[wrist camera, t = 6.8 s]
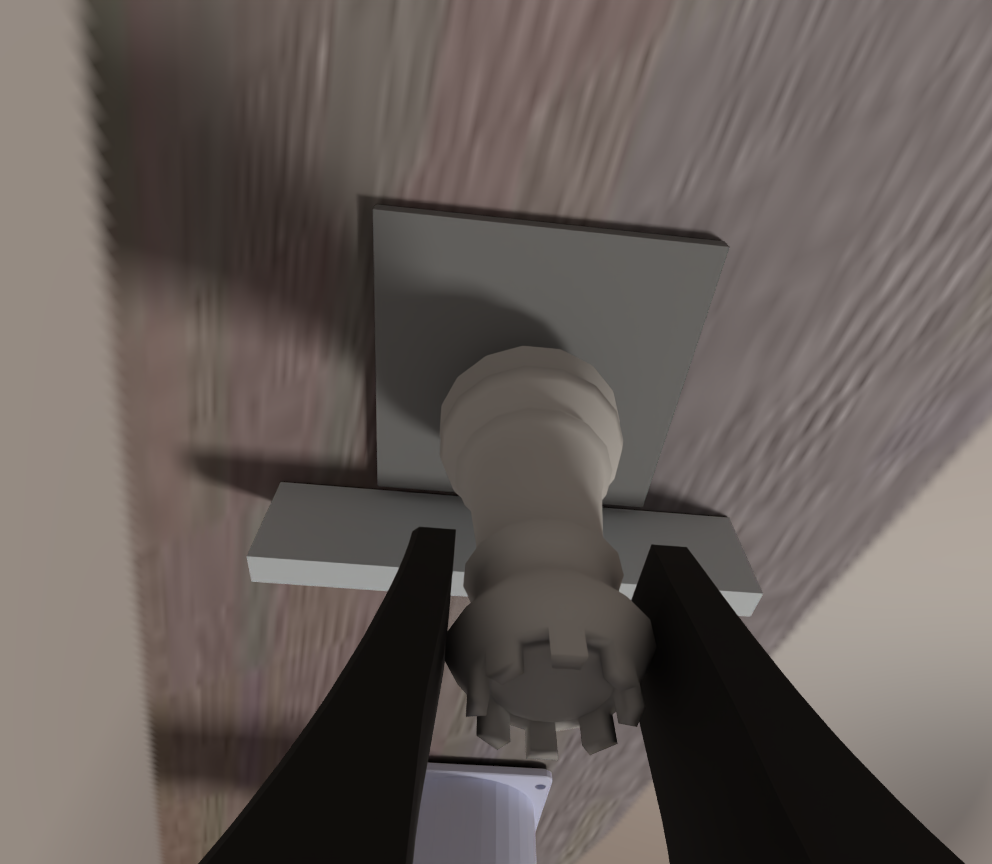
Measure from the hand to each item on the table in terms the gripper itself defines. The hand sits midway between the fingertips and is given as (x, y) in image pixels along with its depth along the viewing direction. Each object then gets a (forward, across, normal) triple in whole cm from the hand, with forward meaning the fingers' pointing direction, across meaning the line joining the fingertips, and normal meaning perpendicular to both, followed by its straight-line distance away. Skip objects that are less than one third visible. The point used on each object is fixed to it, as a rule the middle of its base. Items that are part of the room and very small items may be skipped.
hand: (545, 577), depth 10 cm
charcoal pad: (+7, 0, 0) cm, 7 cm away
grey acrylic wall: (+7, 0, +5) cm, 9 cm away
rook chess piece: (+6, 0, +1) cm, 6 cm away
